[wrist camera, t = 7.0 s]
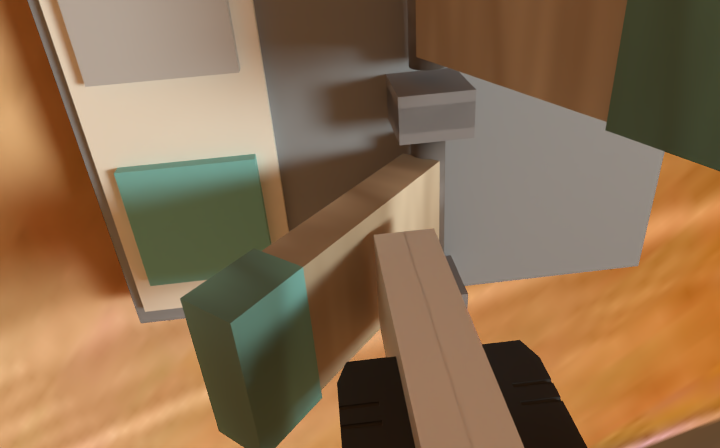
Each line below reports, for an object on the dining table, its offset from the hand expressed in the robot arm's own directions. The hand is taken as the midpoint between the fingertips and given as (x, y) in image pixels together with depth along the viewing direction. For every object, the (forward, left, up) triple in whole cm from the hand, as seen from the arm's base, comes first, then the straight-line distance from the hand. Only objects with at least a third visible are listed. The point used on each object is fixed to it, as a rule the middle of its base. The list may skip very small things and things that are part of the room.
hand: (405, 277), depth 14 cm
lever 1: (+1, 0, -4) cm, 4 cm away
